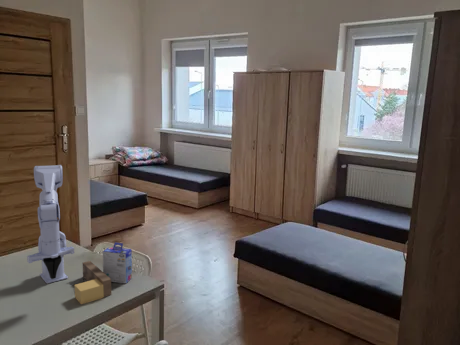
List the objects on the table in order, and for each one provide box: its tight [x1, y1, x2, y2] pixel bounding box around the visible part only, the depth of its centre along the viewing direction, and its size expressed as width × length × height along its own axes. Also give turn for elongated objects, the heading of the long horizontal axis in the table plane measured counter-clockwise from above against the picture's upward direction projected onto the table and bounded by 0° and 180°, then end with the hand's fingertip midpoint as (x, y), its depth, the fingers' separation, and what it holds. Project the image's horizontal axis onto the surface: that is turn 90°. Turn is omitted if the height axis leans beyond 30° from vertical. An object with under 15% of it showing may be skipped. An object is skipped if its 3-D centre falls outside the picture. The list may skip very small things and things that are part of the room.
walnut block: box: [82, 260, 112, 297], centre depth 152 cm, size 20×3×6 cm, turn 40°
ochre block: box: [74, 279, 104, 305], centre depth 143 cm, size 6×8×5 cm
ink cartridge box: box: [102, 242, 133, 284], centre depth 156 cm, size 10×6×14 cm, turn 78°
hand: (52, 277), depth 137 cm, fingers closed
